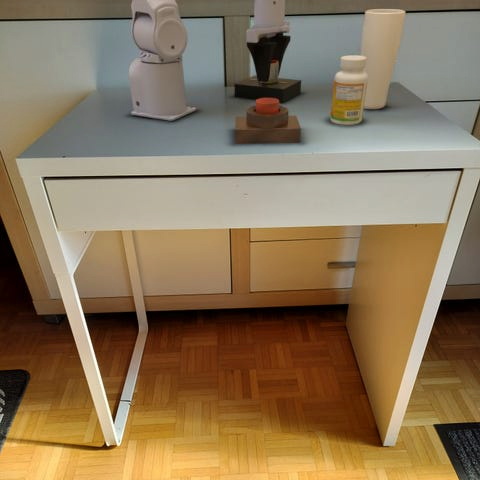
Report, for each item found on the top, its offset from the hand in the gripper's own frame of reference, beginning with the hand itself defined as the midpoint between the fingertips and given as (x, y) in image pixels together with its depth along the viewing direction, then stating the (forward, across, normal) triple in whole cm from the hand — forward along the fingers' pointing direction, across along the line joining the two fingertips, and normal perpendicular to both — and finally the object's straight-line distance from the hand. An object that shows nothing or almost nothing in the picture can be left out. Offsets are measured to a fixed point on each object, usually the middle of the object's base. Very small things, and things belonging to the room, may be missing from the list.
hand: (268, 79), depth 92 cm
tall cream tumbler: (+3, 0, -22) cm, 22 cm away
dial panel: (+3, 0, 0) cm, 3 cm away
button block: (+3, -24, -12) cm, 27 cm away
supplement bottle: (+3, -10, -20) cm, 23 cm away
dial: (0, 0, 0) cm, 0 cm away
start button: (-1, -24, -12) cm, 27 cm away
